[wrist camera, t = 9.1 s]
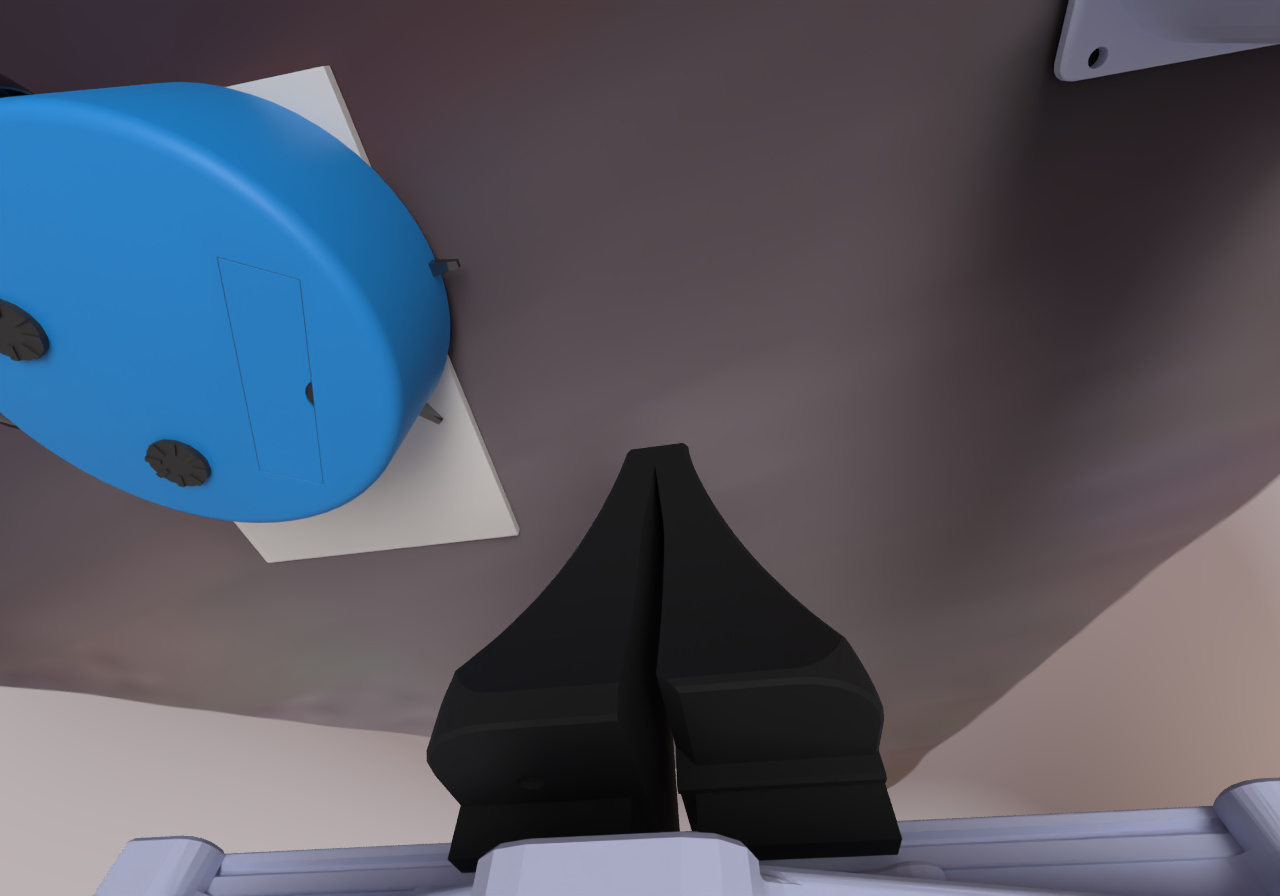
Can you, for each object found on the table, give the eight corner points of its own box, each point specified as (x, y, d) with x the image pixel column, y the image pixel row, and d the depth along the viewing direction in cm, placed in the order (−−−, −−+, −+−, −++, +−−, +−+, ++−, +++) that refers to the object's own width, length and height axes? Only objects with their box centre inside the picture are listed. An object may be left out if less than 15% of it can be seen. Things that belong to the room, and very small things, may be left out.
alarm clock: (478, 162, 18) (-56, -10, 16) (413, 210, 13) (-384, -33, 11) (443, 463, 26) (78, 378, 23) (393, 566, 21) (-78, 472, 18)
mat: (329, 65, 17) (323, 66, 17) (519, 529, 29) (518, 535, 28) (-61, 148, 18) (-74, 151, 18) (271, 557, 30) (267, 562, 30)
